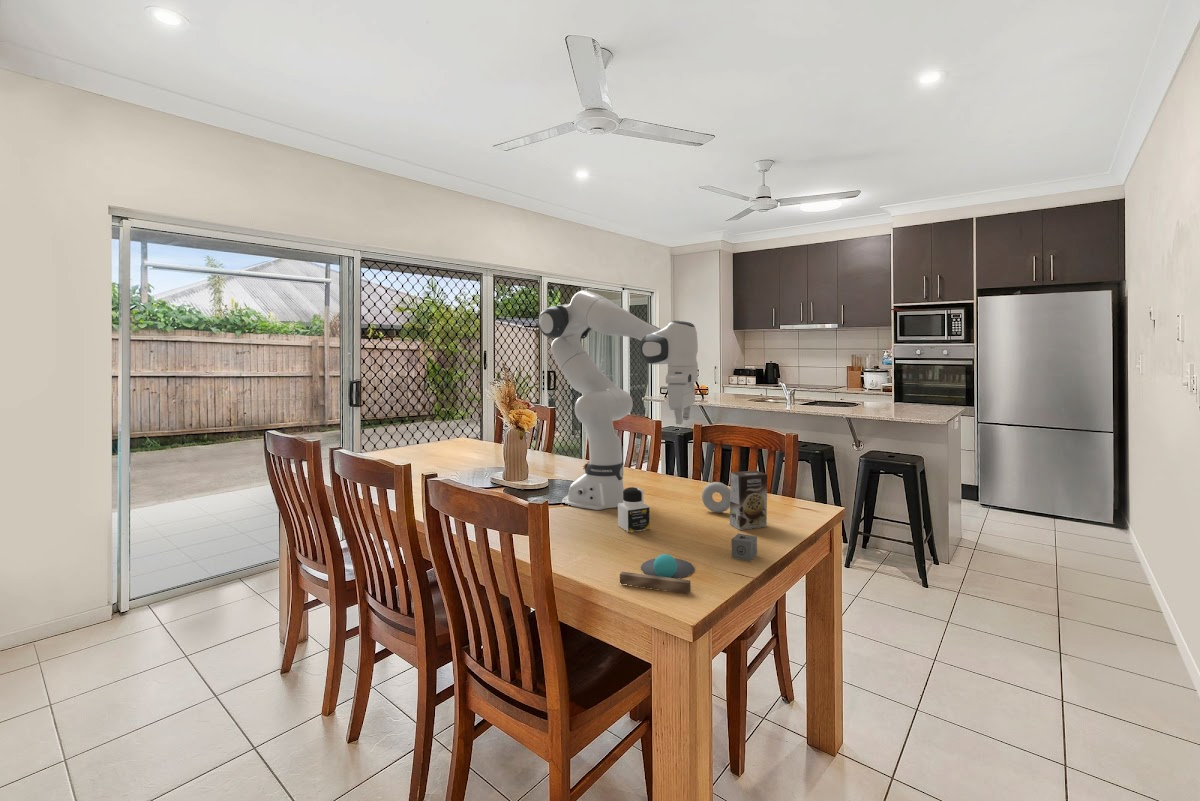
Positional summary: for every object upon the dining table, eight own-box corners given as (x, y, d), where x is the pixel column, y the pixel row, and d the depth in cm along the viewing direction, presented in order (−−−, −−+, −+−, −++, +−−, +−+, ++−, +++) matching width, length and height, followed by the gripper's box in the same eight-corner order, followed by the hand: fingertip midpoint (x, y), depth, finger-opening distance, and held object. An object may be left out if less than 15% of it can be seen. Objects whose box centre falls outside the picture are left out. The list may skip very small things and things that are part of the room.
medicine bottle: (628, 533, 169) (627, 492, 167) (617, 526, 175) (617, 487, 174) (649, 529, 171) (649, 489, 170) (638, 523, 178) (638, 484, 177)
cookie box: (739, 530, 169) (740, 476, 167) (729, 524, 175) (729, 471, 173) (767, 527, 171) (768, 474, 170) (756, 521, 177) (756, 469, 176)
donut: (733, 512, 187) (733, 482, 186) (731, 515, 184) (731, 484, 182) (703, 509, 191) (703, 479, 190) (700, 512, 188) (700, 481, 187)
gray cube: (738, 551, 152) (738, 533, 152) (756, 555, 150) (757, 536, 149) (731, 558, 148) (731, 539, 148) (750, 561, 146) (750, 542, 145)
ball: (656, 568, 140) (650, 579, 135) (657, 548, 139) (651, 558, 134) (678, 573, 139) (673, 585, 134) (680, 552, 137) (674, 563, 132)
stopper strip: (619, 584, 133) (619, 574, 133) (622, 581, 134) (621, 571, 134) (688, 594, 127) (688, 583, 127) (690, 591, 129) (690, 580, 129)
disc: (634, 575, 138) (634, 574, 138) (649, 555, 150) (649, 555, 150) (688, 582, 134) (688, 581, 134) (698, 561, 146) (698, 560, 146)
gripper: (679, 373, 183) (680, 417, 185) (664, 377, 164) (664, 426, 166) (699, 373, 181) (699, 417, 182) (686, 377, 162) (686, 427, 163)
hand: (682, 421), depth 174 cm, fingers open, 8 cm apart
